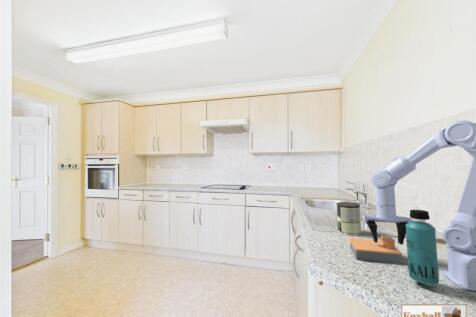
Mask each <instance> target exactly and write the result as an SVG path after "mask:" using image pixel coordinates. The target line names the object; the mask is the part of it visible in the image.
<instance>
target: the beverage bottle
mask: <svg viewBox="0 0 476 317" xmlns="http://www.w3.org/2000/svg"><path fill="white" fill-rule="evenodd" d="M429 213H430V212H429V211H427V210H423V209H418V210H416V209H410V210H409V216H410V218H414V219H421V220H426V221H427V220H430V214H429ZM426 221H425V222H421V221H410V222H409V223H407V224H406V235H405V237H406V238H405V243H406V249H407V250H406V251H407V253H406V257H407V272H408V276H409V278H411V279H412V280H414V281H415V282H418V283H421V284H424V285H429V286H435V285H438V284H439V283H440V280H441V278H440V276H441V275H440V272H439V268H440V266H439V265H440V264H439V257H438V250H437V237H436V235H437V234H436V227H435V226H433V225H432V224H431V223H429V222H426Z"/></svg>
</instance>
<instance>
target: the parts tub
mask: <svg viewBox="0 0 476 317" xmlns="http://www.w3.org/2000/svg"><path fill="white" fill-rule="evenodd" d="M349 246H350V249H351V251H352V253H353V255H354V257H355V259H356V260H358V261H369V262H379V263H387V264H389V263H390V264H400V265H402V255H396V254H385V253H373V252H362V251H355V249H354V247H353V246H352V244H351V242H350V241H349Z"/></svg>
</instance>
